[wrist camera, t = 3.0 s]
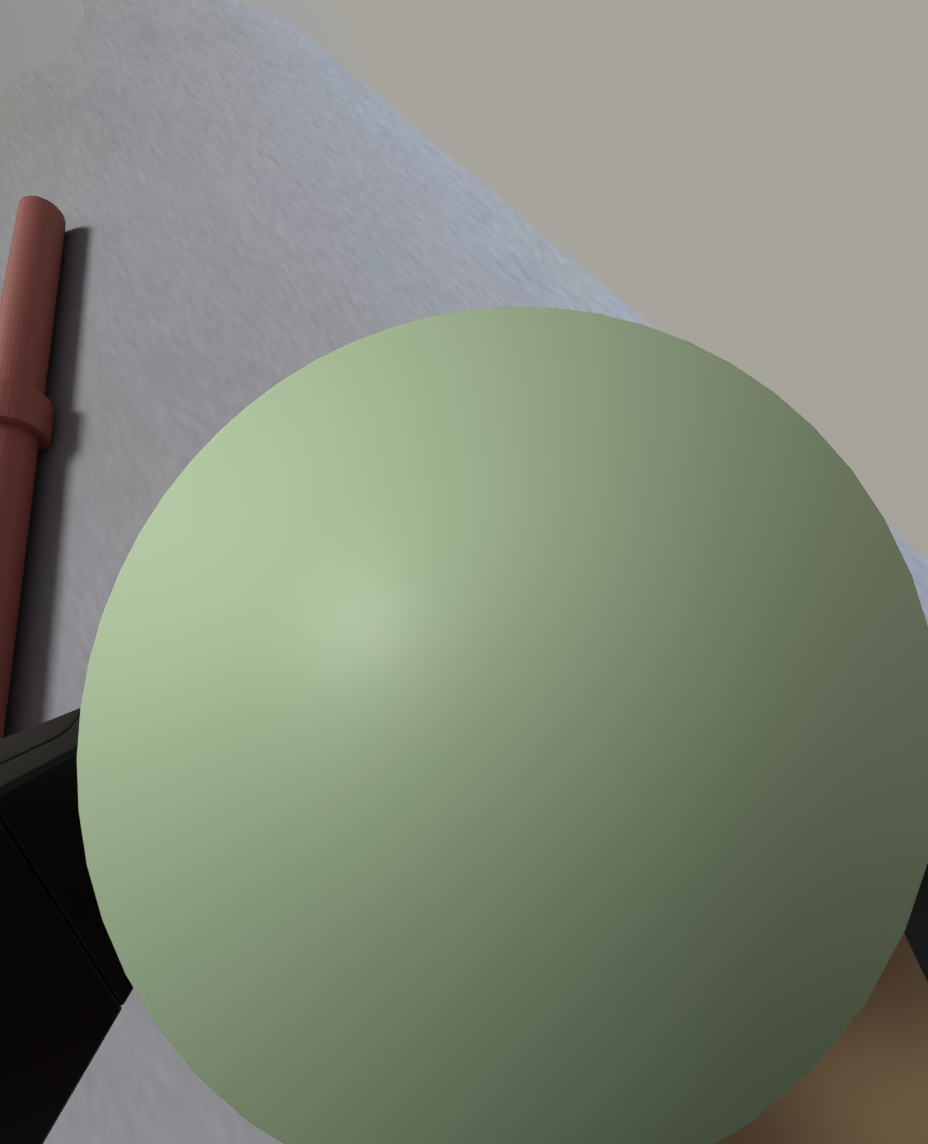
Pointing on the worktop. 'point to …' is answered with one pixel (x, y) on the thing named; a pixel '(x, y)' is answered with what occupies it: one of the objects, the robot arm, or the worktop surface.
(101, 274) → the worktop surface
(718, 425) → the green cylinder
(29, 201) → the red collared rod
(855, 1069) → the walnut base
